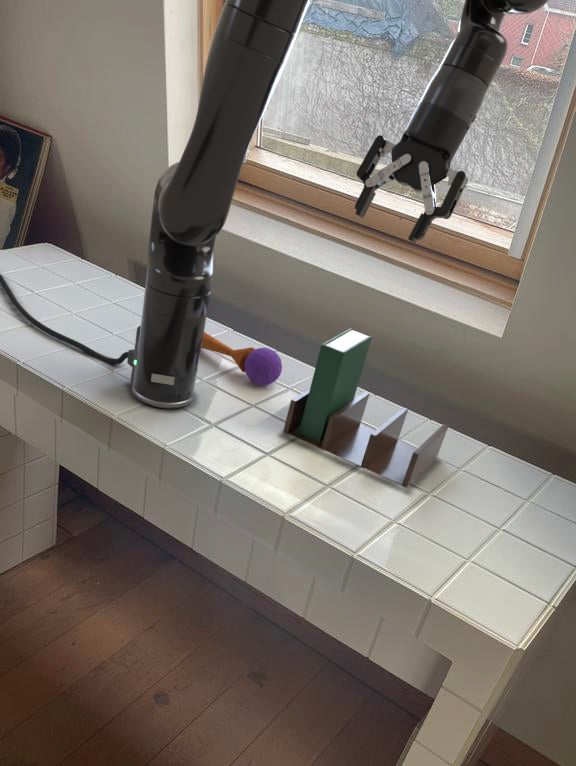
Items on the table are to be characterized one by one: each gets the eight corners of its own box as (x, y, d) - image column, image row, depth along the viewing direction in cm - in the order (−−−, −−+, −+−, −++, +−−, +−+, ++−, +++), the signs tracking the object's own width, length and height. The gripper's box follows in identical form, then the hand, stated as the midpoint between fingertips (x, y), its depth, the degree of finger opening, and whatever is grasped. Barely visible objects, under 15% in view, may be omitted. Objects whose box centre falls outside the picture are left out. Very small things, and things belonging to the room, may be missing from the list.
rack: (282, 436, 120) (290, 399, 117) (318, 410, 129) (328, 376, 126) (405, 491, 113) (418, 454, 109) (435, 461, 121) (448, 425, 118)
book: (298, 433, 120) (321, 344, 112) (327, 412, 127) (350, 327, 119) (319, 442, 119) (344, 353, 111) (347, 421, 126) (372, 336, 118)
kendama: (205, 317, 143) (293, 354, 132) (197, 351, 145) (283, 389, 134) (181, 316, 139) (270, 354, 127) (173, 351, 141) (260, 391, 130)
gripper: (392, 84, 109) (334, 203, 114) (490, 123, 104) (424, 245, 109) (405, 101, 115) (349, 213, 121) (497, 139, 111) (435, 254, 116)
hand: (385, 228), depth 115 cm, fingers open, 8 cm apart
